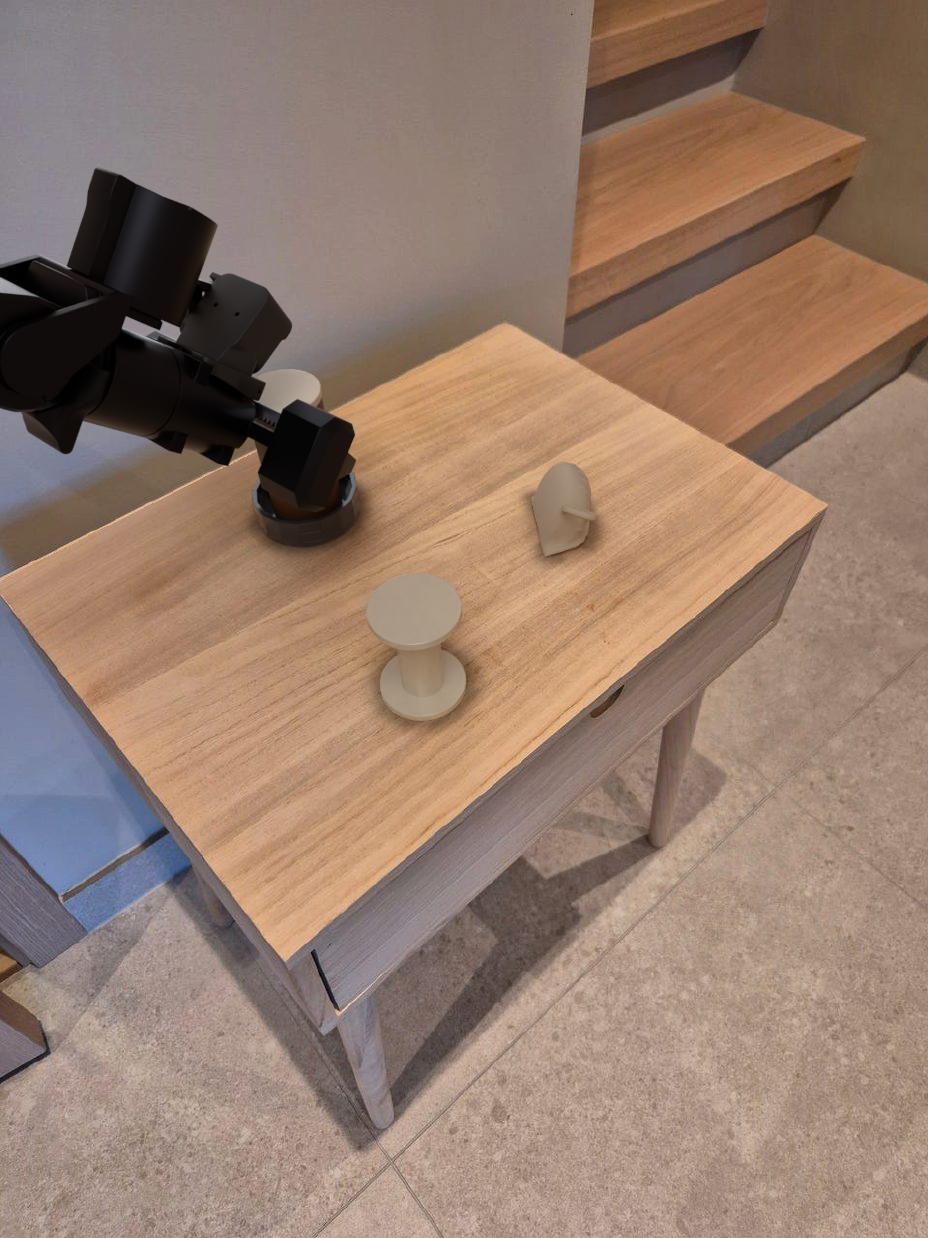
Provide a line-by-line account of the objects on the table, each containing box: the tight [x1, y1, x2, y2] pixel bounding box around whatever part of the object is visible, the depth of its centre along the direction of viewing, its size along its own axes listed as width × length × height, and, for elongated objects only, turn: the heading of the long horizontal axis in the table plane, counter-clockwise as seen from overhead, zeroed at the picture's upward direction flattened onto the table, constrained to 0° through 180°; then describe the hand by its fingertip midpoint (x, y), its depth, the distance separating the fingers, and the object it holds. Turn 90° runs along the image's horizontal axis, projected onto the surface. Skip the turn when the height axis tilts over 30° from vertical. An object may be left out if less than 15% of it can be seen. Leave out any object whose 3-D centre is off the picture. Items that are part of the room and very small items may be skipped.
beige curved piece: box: [530, 461, 599, 558], centre depth 64 cm, size 4×8×5 cm, turn 4°
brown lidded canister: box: [253, 368, 342, 521], centre depth 64 cm, size 6×6×11 cm
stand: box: [365, 572, 467, 722], centre depth 54 cm, size 6×6×8 cm
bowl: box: [251, 471, 361, 548], centre depth 68 cm, size 8×8×2 cm
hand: (308, 443), depth 65 cm, fingers open, 9 cm apart
